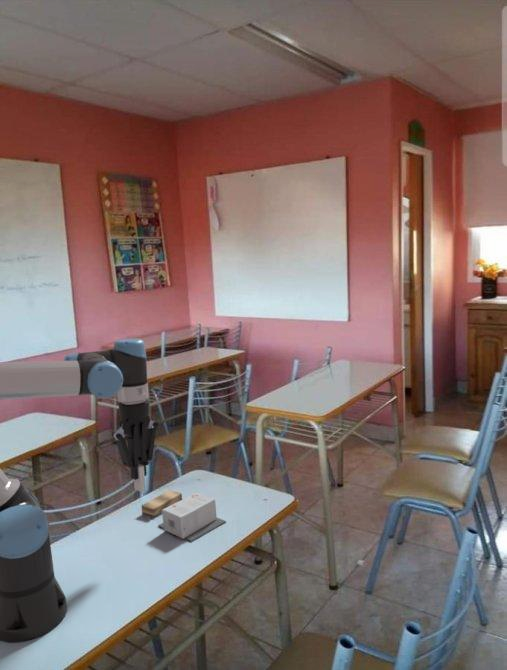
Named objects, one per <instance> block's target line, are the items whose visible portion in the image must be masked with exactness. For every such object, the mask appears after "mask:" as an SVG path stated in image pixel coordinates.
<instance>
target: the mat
mask: <svg viewBox="0 0 507 670" xmlns="http://www.w3.org/2000/svg"><path fill="white" fill-rule="evenodd" d="M226 522H227V521H226V520H224V519H221V518H219V517H217V519H216V520H215V521H213V522H211V523H209V524H208V525H206V526H204V527H202V528H201V529H199V530H197V531H196V532H194V533H192V534H190V535H189V536H187V537H185V538H183V540H186V541H189V542H190V543H192V542H195V541H196V540H198V539H199V538H201V537H203V536H205V535H207V534H208V533H210V532H211V531H213V530H215V529H216V528H219V527H220V526H222V525H224V524H225V523H226ZM157 526H158V527H159V528H160V529H162V530H164V525H163V522H162V523H160V524H158V525H157Z"/></svg>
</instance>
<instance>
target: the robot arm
mask: <svg viewBox="0 0 507 670" xmlns="http://www.w3.org/2000/svg"><path fill="white" fill-rule="evenodd" d="M146 351H147V350H146V346H145V342H144V340H142V339H141V338H134V337H132V338H131V337H130V338H122V339H117V340H115V341H114V343H113V348H111V349H107V350H106V349H105V350H96V351H89V352H77V353H71V354H67V355H66V356H64V359H63V360H52V361H51V360H50V361H47V360H45V361H15V362H14V361H13V362H12V361H11V362H10V361H8V362H7V361H6V362H5V361H4V362H0V400H16V399H19V400H20V399H34V398H35V399H36V398H38V399H39V398H54V397H70V396H71V397H73V396H91V395H92V396H95V397H99V398H102V399H106V398H107V399H108V398H112V397H114V396H115V395H117V400H118V401H119V403H118V413H119V414H118V415H119V418H120V423H119V428H118V430H116V431H113V432H112V433H111V437H112V438H113V440H114V441H115V443H116V446H117V450H118V452H119V455H120V459H121V463H122V465H123V466H124V467H126V468H130V477H131V479H133V488H134V491H135V490H136V491H137V492H140V493H142V492H144V491H146V478H145V477H146V476H147V466H148V465H150V464H149V461H151V460H152V459H153V456H154V455H153V454H154V448H155V440H156V439H155V438H156V432H157V430H158V427H159V422H158V421H154V420H151V417H150V413H151V412H150V409H151V408H150V401H149V399H148V398H149V384H148V383H149V382H148V369H147V365H148V364H147V358H148V356H147V353H146ZM47 517H48V516H47V514H46V512H45V510H43V508H42V507H41V504H40V501H39V500H38V498H37V497H36V496H35V495H34V494H33V493H32V492H31V491H29V490H28V489H26V488H25V486H24V485H23V484H22V483H21V482H20V480H19V479H17V478H8V476H7V475H6V474H5V472H4V471H3V470H2V469H1V468H0V641H2V642H7V643H9V642H10V643H19V642H25V641H29V640H34V639H36V638H39V637H40V636H43V635H45V634H47V633H48V632H50V631H52V630H53V629H55V628H56V627H57V626H58V625H59V624H60V623H61V622H62V621H63V619H64V618H65V616H66V614H67V611H68V605H67V598H66V595H65V593H64V591H63V589H62V588H61V585H60V583H59V582H58V581H57V578H56V576H55V571H54V562H53V553H52V545H51V540H50V539H51V538H50V523H49V519H48V518H47Z"/></svg>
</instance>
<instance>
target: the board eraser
mask: <svg viewBox="0 0 507 670" xmlns="http://www.w3.org/2000/svg"><path fill="white" fill-rule="evenodd" d="M182 494H183V493H181V492H177V491H175V490H171V489H169V490H167V491H165V492H163V493H162V494H160V495H158V496H156V497H155V498H152V499H151V500H149V501H147V502H144V503H143V504H142V505H141V514H142V515H143V516H146V517H148V518H150V519H151V518H152V519H157V517H160V516H161V515H162V510H163V509H165V508H167V507H169V506H171V505H173V504H175V503H177V502H179V501H181V500H183V495H182Z"/></svg>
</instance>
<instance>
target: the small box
mask: <svg viewBox="0 0 507 670" xmlns="http://www.w3.org/2000/svg"><path fill="white" fill-rule="evenodd" d="M216 504H217V503H216V499H215V498H212V497H210V496H208V495H204V494H202V493H198V492H194V493H193V494H191V495H189V496H187V497H185V498H182V500H181V501H179V502H177V503H175V504H173V505H171V506H169V507H167V508H165V509H163V510H162V514H161V515H162V523H163V525H164V529H163V531H165V532H168V533H169V534H172V535H175V536H177V538H180V539H182V540H184V538H185V537H187V536H189V535H190V534H192V533H194V532H196V531H197V530H199V529H201V528H202V527H204V526H206V525H208V524H209V523H211V522H213V521H215V520H216V519H217V518H218V517H217V507H216V506H217V505H216Z"/></svg>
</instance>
